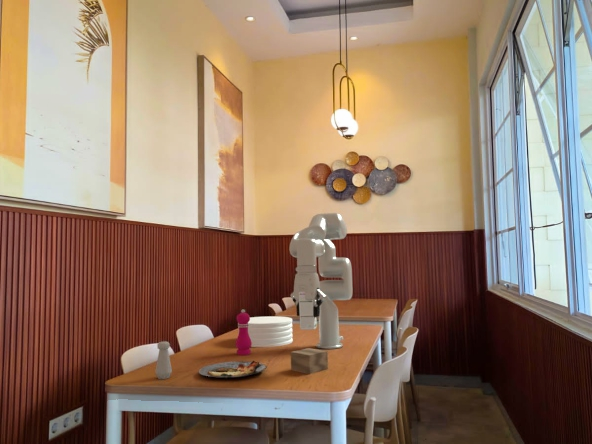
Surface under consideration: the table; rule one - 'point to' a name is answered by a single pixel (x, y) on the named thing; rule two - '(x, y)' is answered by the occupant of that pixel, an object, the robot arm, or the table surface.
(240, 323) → the pepper mill
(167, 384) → the table surface
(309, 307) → the syrup box
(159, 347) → the salt shaker
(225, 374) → the food plate
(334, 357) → the table surface
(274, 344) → the plate stack
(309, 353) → the walnut block
